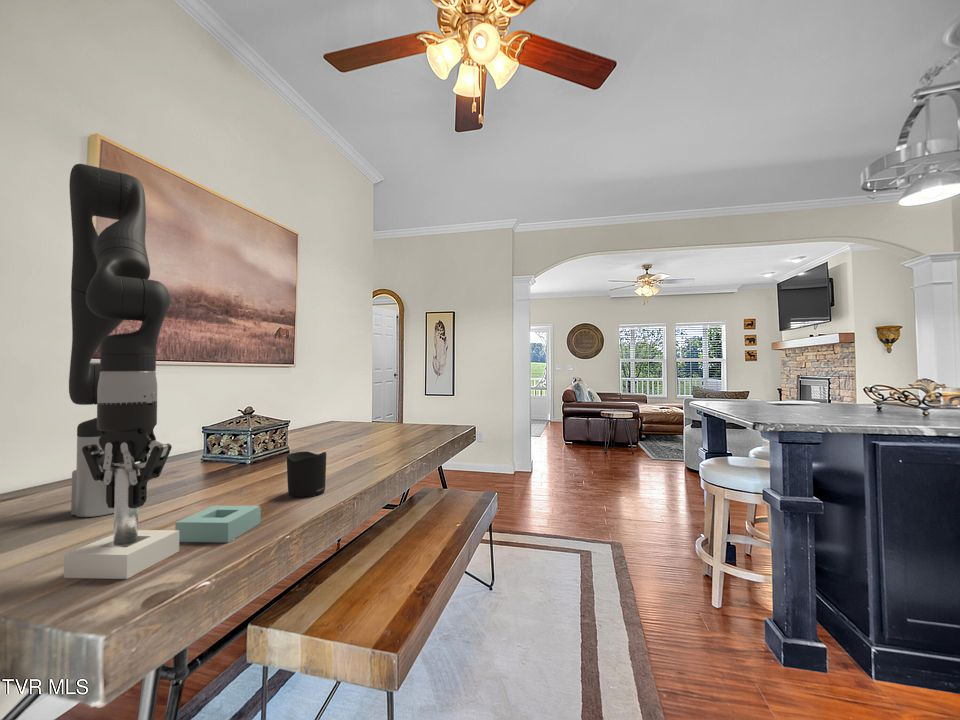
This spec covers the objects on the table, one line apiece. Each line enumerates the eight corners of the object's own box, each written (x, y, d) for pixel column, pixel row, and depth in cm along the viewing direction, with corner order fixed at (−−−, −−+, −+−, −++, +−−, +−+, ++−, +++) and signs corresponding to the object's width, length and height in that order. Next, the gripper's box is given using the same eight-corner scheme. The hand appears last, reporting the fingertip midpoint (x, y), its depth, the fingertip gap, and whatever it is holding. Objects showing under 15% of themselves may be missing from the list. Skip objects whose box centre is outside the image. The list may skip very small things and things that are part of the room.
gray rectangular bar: (108, 545, 67) (109, 468, 67) (125, 538, 70) (126, 464, 70) (126, 545, 67) (127, 468, 67) (142, 538, 70) (143, 464, 70)
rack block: (175, 541, 77) (175, 522, 77) (213, 522, 87) (213, 505, 87) (228, 542, 76) (228, 522, 77) (260, 523, 86) (260, 505, 87)
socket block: (63, 577, 64) (64, 554, 64) (124, 550, 74) (124, 529, 74) (126, 578, 63) (127, 554, 63) (179, 551, 73) (179, 530, 73)
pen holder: (291, 501, 102) (291, 459, 102) (282, 492, 109) (282, 453, 110) (331, 494, 107) (331, 454, 108) (320, 486, 115) (320, 449, 115)
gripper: (63, 401, 66) (61, 514, 65) (149, 400, 65) (147, 515, 64) (109, 398, 73) (107, 499, 73) (186, 397, 73) (185, 500, 72)
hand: (126, 506), depth 69 cm, fingers closed on gray rectangular bar, 3 cm apart
